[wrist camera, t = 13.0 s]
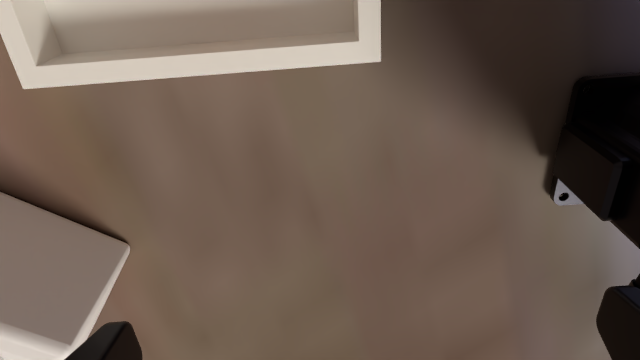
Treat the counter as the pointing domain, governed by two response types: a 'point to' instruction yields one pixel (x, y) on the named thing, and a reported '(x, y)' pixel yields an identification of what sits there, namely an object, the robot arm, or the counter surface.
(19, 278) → the medicine bottle
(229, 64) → the tray
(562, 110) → the counter surface
